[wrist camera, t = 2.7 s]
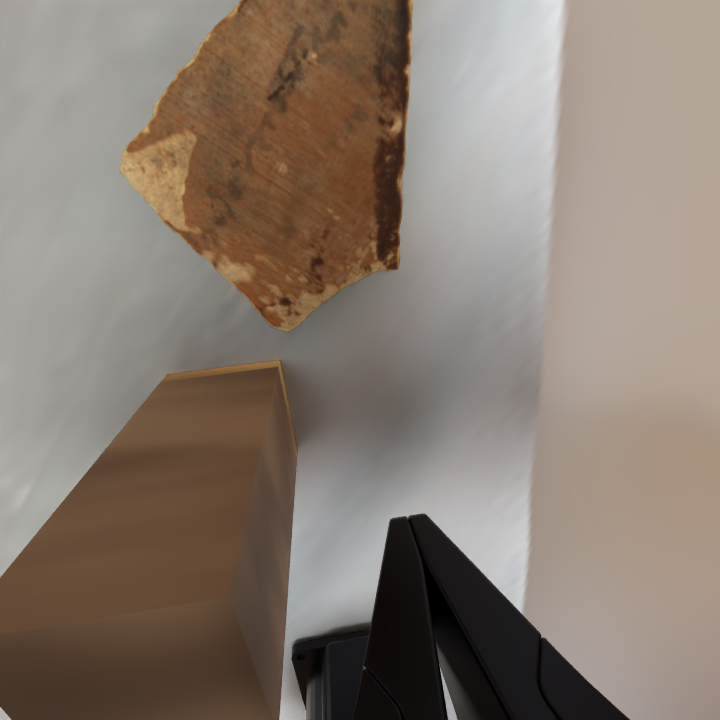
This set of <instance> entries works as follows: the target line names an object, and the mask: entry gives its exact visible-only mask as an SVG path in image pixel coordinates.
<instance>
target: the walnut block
mask: <svg viewBox="0 0 720 720" xmlns="http://www.w3.org/2000/svg"><path fill="white" fill-rule="evenodd" d="M296 464H297V445H296V440H295V435H294V430H293V425H292V420H291V415H290V410H289V405H288V400H287V395H286V390H285V384H284V379H283V374H282V369H281V364H280V360H274V361H267V362H259V363H251V364H244V365H236V366H228V367H221V368H213V369H205V370H198V371H190V372H182V373H175V374H167V375H166V376H165V378H164V379H163V380H162V381H161V383H160V384H159V385H158V386H157V387H156V389H155V390H154V391H153V392H152V394H151V395H150V396H149V397H148V398H147V400H146V401H145V402H144V403H143V405H142V406H141V407H140V408H139V409H138V411H137V412H136V413H135V414H134V415H133V417H132V418H131V419H130V420H129V422H128V423H127V424H126V425H125V426H124V428H123V429H122V430H121V431H120V433H119V434H118V435H117V436H116V437H115V439H114V440H113V441H112V442H111V444H110V445H109V446H108V447H107V448H106V450H105V451H104V452H103V453H102V454H101V456H100V457H99V458H98V459H97V461H96V462H95V463H94V464H93V465H92V467H91V468H90V469H89V470H88V472H87V473H86V474H85V475H84V476H83V478H82V479H81V480H80V481H79V483H78V484H77V485H76V486H75V487H74V489H73V490H72V491H71V492H70V493H69V495H68V496H67V497H66V498H65V500H64V501H63V502H62V503H61V504H60V506H59V507H58V508H57V509H56V511H55V512H54V513H53V514H52V515H51V517H50V518H49V519H48V520H47V522H46V523H45V524H44V525H43V526H42V528H41V529H40V530H39V531H38V532H37V534H36V535H35V536H34V537H33V539H32V540H31V541H30V542H29V543H28V545H27V546H26V547H25V548H24V550H23V551H22V552H21V553H20V554H19V556H18V557H17V558H16V559H15V561H14V562H13V563H12V564H11V565H10V567H9V568H8V569H7V570H6V571H5V573H4V574H3V575H2V576H1V578H0V707H1V708H2V709H3V710H4V711H5V713H6V714H7V715H8V716H9V717H10V718H11V719H12V720H279V715H280V700H281V685H282V671H283V656H284V641H285V626H286V611H287V597H288V582H289V567H290V552H291V538H292V523H293V508H294V493H295V478H296Z"/></svg>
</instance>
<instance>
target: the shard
mask: <svg viewBox="0 0 720 720" xmlns="http://www.w3.org/2000/svg"><path fill="white" fill-rule="evenodd" d="M412 10H413V4H412V0H241V1H240V2H239V3H238V4H237V6H236V7H235V8H234V9H233V11H232V12H231V13H230V14H229V15H228V16H226V17H225V18H224V19H223V20H221V21H220V22H219V23H218V24H217V25H216V26H215V27H214V28H213V30H212V31H211V32H210V33H209V34H208V36H207V37H206V39H205V40H204V41H203V42H202V43H201V44H200V46H199V48H198V50H197V53H196V55H195V57H194V58H193V59H192V60H191V61H190V62H189V63H188V64H187V65H186V66H184V67H183V68H181V69H180V70H179V71H178V73H177V74H176V76H175V78H174V80H173V81H172V82H171V84H170V85H169V87H168V88H167V89H166V91H165V92H164V93H163V95H162V96H161V97H160V99H159V100H158V101H157V102H156V104H155V105H154V109H153V118H152V119H151V120H150V122H149V123H148V125H147V126H146V127H145V128H144V130H142V131H141V132H140V133H139V134H138V135H137V136H136V137H135V138H134V139H133V140H132V141H131V142H130V143H129V145H128V146H127V147H126V148H125V150H124V151H123V152H122V157H121V164H120V169H119V170H120V173H121V174H122V175H123V176H124V177H125V178H126V179H127V181H128V182H129V184H130V185H131V186H132V187H133V188H134V189H135V190H136V191H137V192H138V193H140V194H141V195H142V196H143V197H144V199H145V201H146V202H147V203H148V204H150V205H151V206H152V207H153V208H154V210H155V211H156V213H157V214H158V216H159V217H160V219H161V220H162V221H163V222H164V223H165V224H166V225H167V226H168V227H169V228H170V229H172V230H173V231H174V232H176V233H177V234H178V235H179V236H180V237H181V238H182V239H183V240H184V241H185V242H186V243H187V244H189V245H190V246H191V247H192V248H193V249H194V250H195V251H196V252H197V253H198V254H199V255H201V256H202V257H204V258H206V259H207V260H208V261H209V262H210V263H211V264H212V265H213V266H214V268H215V269H216V270H217V271H218V272H219V273H221V274H222V275H223V276H224V277H225V278H226V280H228V281H229V282H230V283H231V284H232V285H233V286H235V287H236V288H237V289H238V290H239V291H240V292H241V293H242V294H243V295H244V296H245V297H246V298H247V299H248V300H249V301H250V302H251V304H252V305H253V307H254V308H255V310H256V311H257V312H258V313H259V314H260V315H261V316H262V317H263V318H264V320H265V321H266V322H267V323H268V324H270V325H271V326H272V327H273V328H276V329H280V330H281V331H283V332H289V331H291V330H292V329H294V328H295V327H296V326H297V325H299V324H300V323H301V322H303V321H304V320H305V319H306V318H307V317H308V316H309V314H310V313H311V312H313V311H314V310H316V309H317V308H318V307H319V306H320V305H322V304H323V303H325V302H326V301H327V300H328V299H329V298H330V297H332V296H333V295H335V294H336V293H337V292H339V291H340V290H342V289H343V288H344V287H346V286H348V285H351V284H353V283H355V282H357V281H358V280H360V279H362V278H364V277H367V276H368V275H370V274H371V273H373V272H376V271H382V270H385V271H392V270H398V267H399V262H400V257H399V244H400V236H399V227H400V223H401V217H402V204H403V200H402V173H403V169H404V163H405V129H406V119H407V110H408V102H409V85H410V74H409V67H410V62H411V30H412Z"/></svg>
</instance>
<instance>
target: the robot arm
mask: <svg viewBox="0 0 720 720" xmlns="http://www.w3.org/2000/svg"><path fill="white" fill-rule="evenodd" d="M292 662H293V666H294V669H295V673H296V676H297V680H298V684H299V687H300V691H301V694H302V698H303V702H304V705H305V709H306V720H448V717H447V710H446V704H445V698H444V691H443V685H442V679H441V672H440V667H441V670H442V673H443V676H444V679H445V682H446V685H447V688H448V691H449V694H450V697H451V700H452V703H453V706H454V709H455V712H456V715H457V718H458V720H630V719H629V718H628V717H626V716H625V715H624V714H623V713H622V712H621V711H619V709H617V708H616V707H615V706H614V705H613V704H612V703H611V702H610V701H609V700H608V699H607V698H605V697H604V696H603V695H602V694H601V693H600V692H599V691H598V690H597V689H595V688H594V687H593V686H592V685H591V684H590V683H589V682H588V681H587V680H586V679H585V678H584V677H583V676H582V675H581V674H580V673H579V672H578V671H577V670H576V669H575V668H574V667H573V666H572V665H571V664H570V663H569V662H568V661H567V660H566V659H565V658H564V657H563V656H562V655H561V654H560V653H559V652H558V651H557V650H556V649H555V648H554V647H553V646H552V645H551V644H550V643H549V642H548V641H547V639H546V638H543V637H542V638H541V634H540V632H539V631H537V630H536V628H535V627H534V626H533V625H532V624H531V623H530V622H529V621H528V620H527V619H526V618H525V617H524V616H523V615H522V614H521V613H520V612H519V611H518V610H517V609H516V607H515V606H514V605H513V604H512V603H511V602H510V601H509V600H508V599H507V598H506V597H505V596H504V595H503V594H502V593H501V592H500V591H499V590H498V589H497V588H496V587H495V586H494V585H493V584H492V582H491V581H490V580H489V579H488V578H487V577H486V576H485V575H484V574H483V573H482V572H481V571H480V570H479V569H478V568H477V567H476V566H475V565H474V564H473V563H472V562H471V561H470V560H469V559H468V557H467V556H466V555H465V554H464V553H463V552H462V551H461V550H460V549H459V548H458V547H457V546H456V545H455V544H454V543H453V542H452V541H451V540H450V539H449V538H448V537H447V536H446V535H445V534H444V533H443V531H442V530H441V529H440V528H439V527H438V526H437V525H436V524H435V523H434V522H433V521H432V520H431V519H430V518H429V517H428V516H427V515H426V514H417V515H410V516H409V517H408V518H407V517H406V516H403V517H397V518H392V519H390V522H389V527H388V533H387V538H386V544H385V549H384V555H383V560H382V566H381V571H380V577H379V582H378V588H377V593H376V599H375V604H374V610H373V615H372V621H371V626H370V630H369V631H364V632H358V633H352V634H347V635H341V636H335V637H330V638H324V639H318V640H312V641H307V642H301V643H297V644H295V645H294V646H293V647H292ZM439 664H440V666H439Z"/></svg>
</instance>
